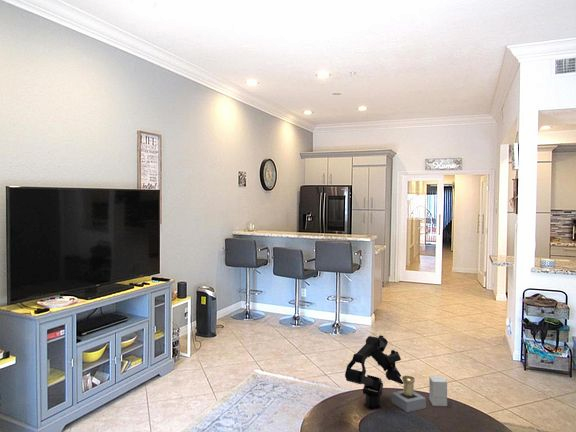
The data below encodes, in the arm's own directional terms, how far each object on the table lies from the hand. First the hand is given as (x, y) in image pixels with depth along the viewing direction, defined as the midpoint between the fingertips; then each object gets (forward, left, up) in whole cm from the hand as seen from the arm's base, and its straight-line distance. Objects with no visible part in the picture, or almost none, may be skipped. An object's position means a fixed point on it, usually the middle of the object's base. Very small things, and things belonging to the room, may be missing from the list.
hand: (401, 379), depth 210 cm
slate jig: (+3, -1, -13) cm, 13 cm away
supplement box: (+19, -5, -13) cm, 24 cm away
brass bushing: (+3, -1, -12) cm, 12 cm away
